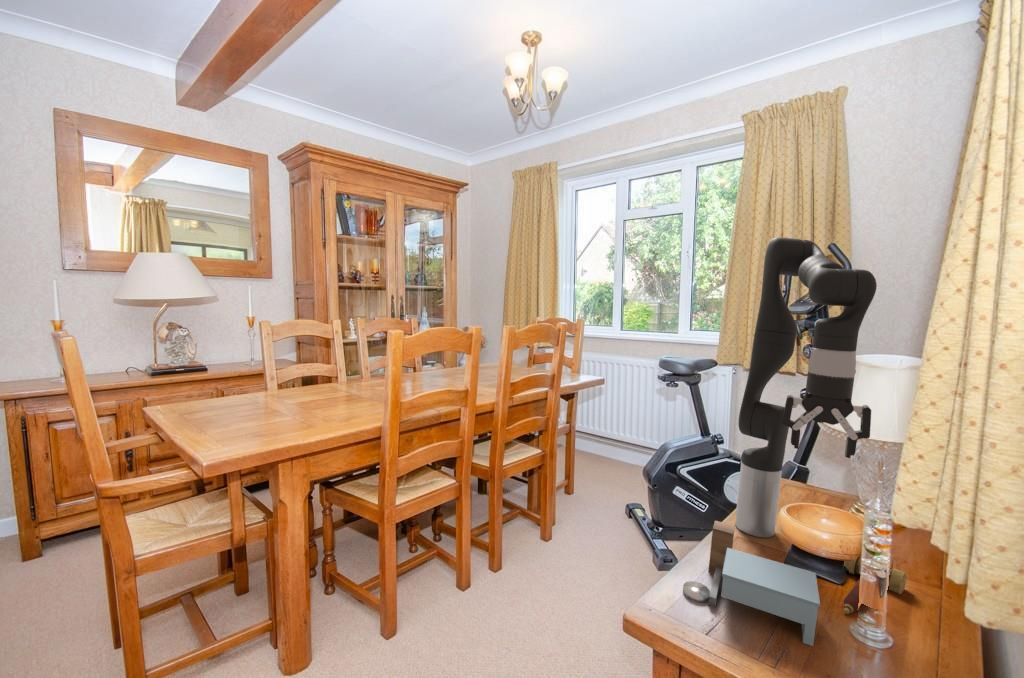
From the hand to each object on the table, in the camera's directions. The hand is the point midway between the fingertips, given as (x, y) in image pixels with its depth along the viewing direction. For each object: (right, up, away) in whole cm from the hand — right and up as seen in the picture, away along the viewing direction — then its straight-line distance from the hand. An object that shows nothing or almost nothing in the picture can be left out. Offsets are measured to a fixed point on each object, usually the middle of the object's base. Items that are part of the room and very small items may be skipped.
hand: (821, 452), depth 92 cm
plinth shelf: (-13, -30, -4) cm, 33 cm away
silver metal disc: (-25, -29, +1) cm, 38 cm away
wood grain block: (-19, -29, +4) cm, 35 cm away
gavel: (+10, -31, +3) cm, 33 cm away
